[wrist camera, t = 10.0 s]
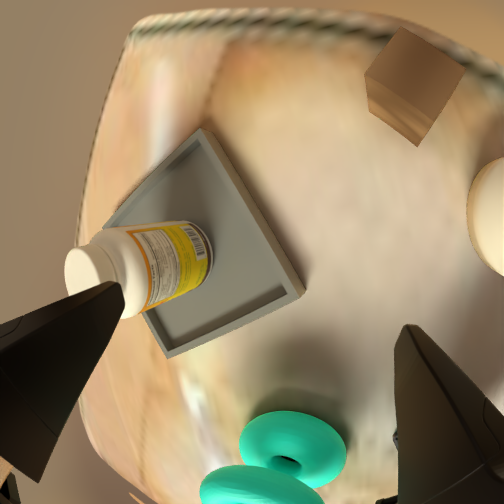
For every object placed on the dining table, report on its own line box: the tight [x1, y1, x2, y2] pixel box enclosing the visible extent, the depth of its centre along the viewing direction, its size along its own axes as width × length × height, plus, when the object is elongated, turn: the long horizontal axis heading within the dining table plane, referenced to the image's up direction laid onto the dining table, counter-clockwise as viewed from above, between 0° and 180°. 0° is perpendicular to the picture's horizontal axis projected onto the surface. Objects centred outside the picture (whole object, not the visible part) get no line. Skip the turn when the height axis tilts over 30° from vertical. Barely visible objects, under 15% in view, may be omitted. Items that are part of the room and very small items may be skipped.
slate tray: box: [102, 128, 306, 359], centre depth 23 cm, size 14×14×2 cm
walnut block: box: [364, 27, 466, 147], centre depth 13 cm, size 4×4×6 cm
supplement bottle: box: [65, 220, 213, 318], centre depth 18 cm, size 6×6×10 cm
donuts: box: [200, 411, 346, 504], centre depth 18 cm, size 10×10×10 cm
